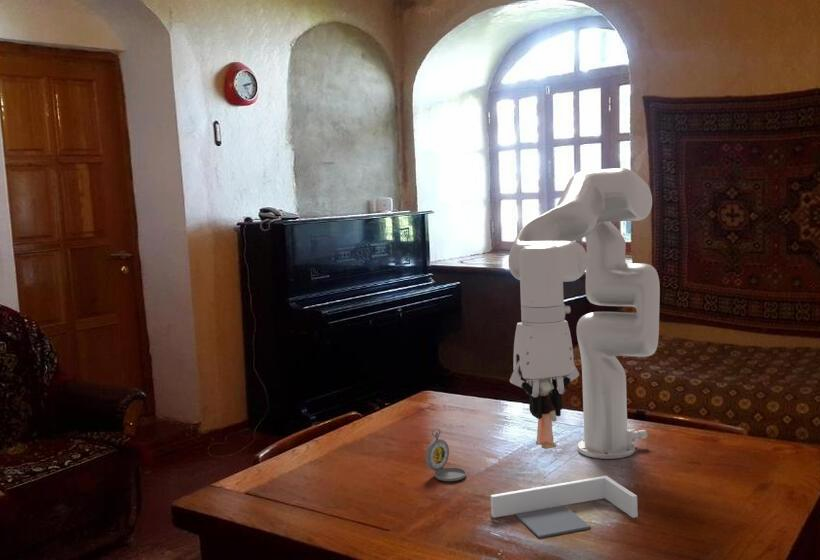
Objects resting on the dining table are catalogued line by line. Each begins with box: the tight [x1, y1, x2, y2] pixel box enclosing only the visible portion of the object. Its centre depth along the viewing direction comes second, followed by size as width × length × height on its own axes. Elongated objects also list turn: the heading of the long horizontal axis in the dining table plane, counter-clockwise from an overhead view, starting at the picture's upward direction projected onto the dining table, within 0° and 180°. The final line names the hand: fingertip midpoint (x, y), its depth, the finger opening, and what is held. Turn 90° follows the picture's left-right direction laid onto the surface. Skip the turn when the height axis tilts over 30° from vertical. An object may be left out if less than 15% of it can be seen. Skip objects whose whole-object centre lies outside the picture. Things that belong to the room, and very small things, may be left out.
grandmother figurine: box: [535, 378, 558, 450], centre depth 145 cm, size 8×4×13 cm, turn 24°
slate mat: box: [515, 505, 592, 539], centre depth 145 cm, size 10×10×1 cm
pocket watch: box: [425, 427, 467, 482], centre depth 171 cm, size 8×8×10 cm
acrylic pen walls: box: [490, 475, 639, 519], centre depth 147 cm, size 24×11×4 cm, turn 106°
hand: (546, 414), depth 144 cm, fingers closed on grandmother figurine, 3 cm apart
